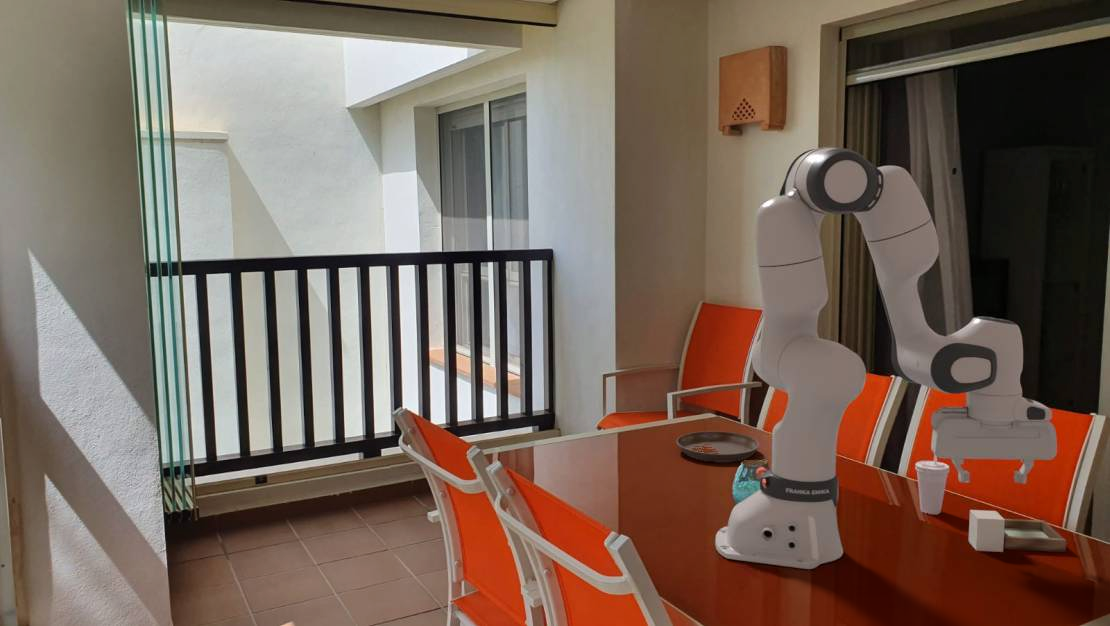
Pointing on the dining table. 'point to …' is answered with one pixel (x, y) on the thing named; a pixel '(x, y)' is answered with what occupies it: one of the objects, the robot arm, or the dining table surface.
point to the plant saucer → (718, 445)
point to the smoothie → (931, 484)
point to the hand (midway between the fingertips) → (991, 481)
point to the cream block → (986, 530)
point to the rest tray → (1032, 536)
